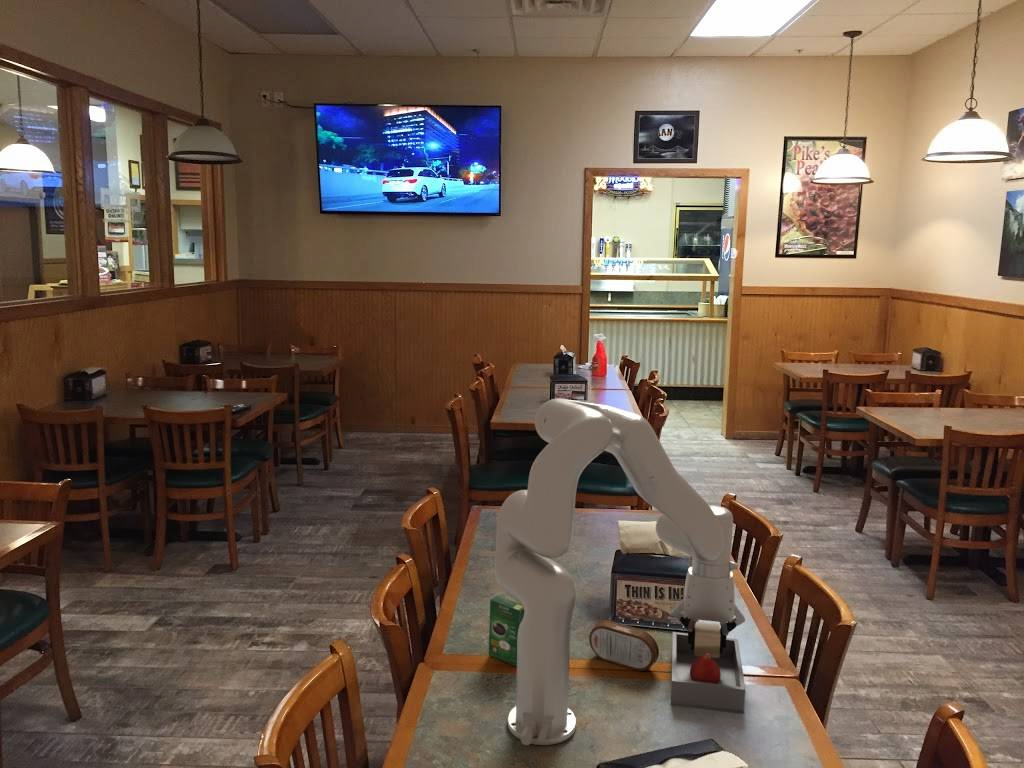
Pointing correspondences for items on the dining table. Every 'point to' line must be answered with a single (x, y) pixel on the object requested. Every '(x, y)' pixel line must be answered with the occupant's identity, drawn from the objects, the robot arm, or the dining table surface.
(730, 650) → the tote
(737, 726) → the dining table surface
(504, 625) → the coffee box
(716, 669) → the onion
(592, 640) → the tin
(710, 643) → the maple cube
